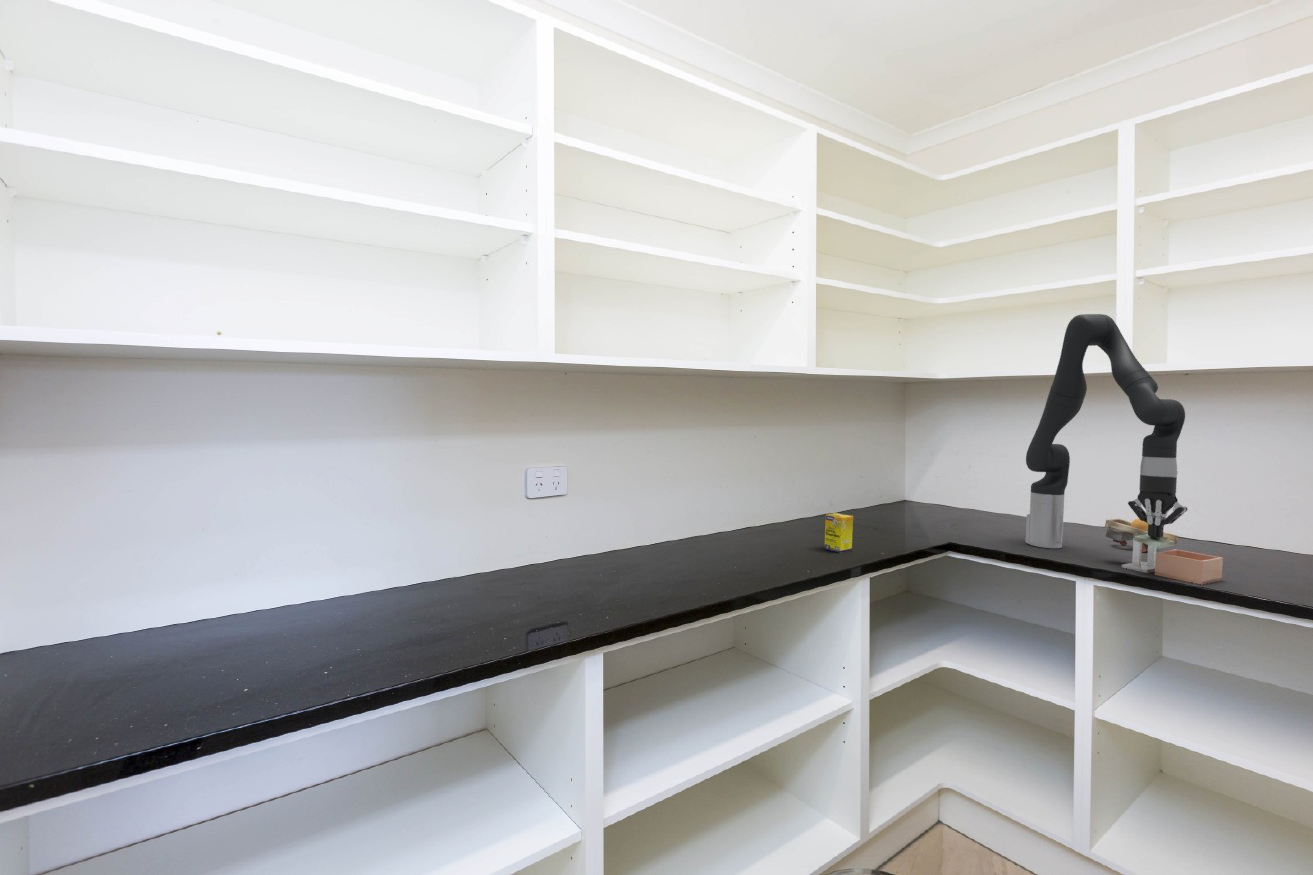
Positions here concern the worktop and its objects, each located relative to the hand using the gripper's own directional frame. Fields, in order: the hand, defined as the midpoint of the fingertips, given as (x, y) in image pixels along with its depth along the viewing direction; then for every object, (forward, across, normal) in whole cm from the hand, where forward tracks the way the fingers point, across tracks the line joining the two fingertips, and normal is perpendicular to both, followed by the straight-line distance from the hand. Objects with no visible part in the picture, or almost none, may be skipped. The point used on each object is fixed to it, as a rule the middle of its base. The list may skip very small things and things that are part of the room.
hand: (1155, 538), depth 160 cm
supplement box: (+10, -56, -59) cm, 82 cm away
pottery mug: (+10, -20, +33) cm, 40 cm away
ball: (-2, -7, +7) cm, 10 cm away
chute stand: (+10, -5, +7) cm, 13 cm away
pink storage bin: (+10, +5, +7) cm, 13 cm away
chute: (+4, -6, +3) cm, 8 cm away
